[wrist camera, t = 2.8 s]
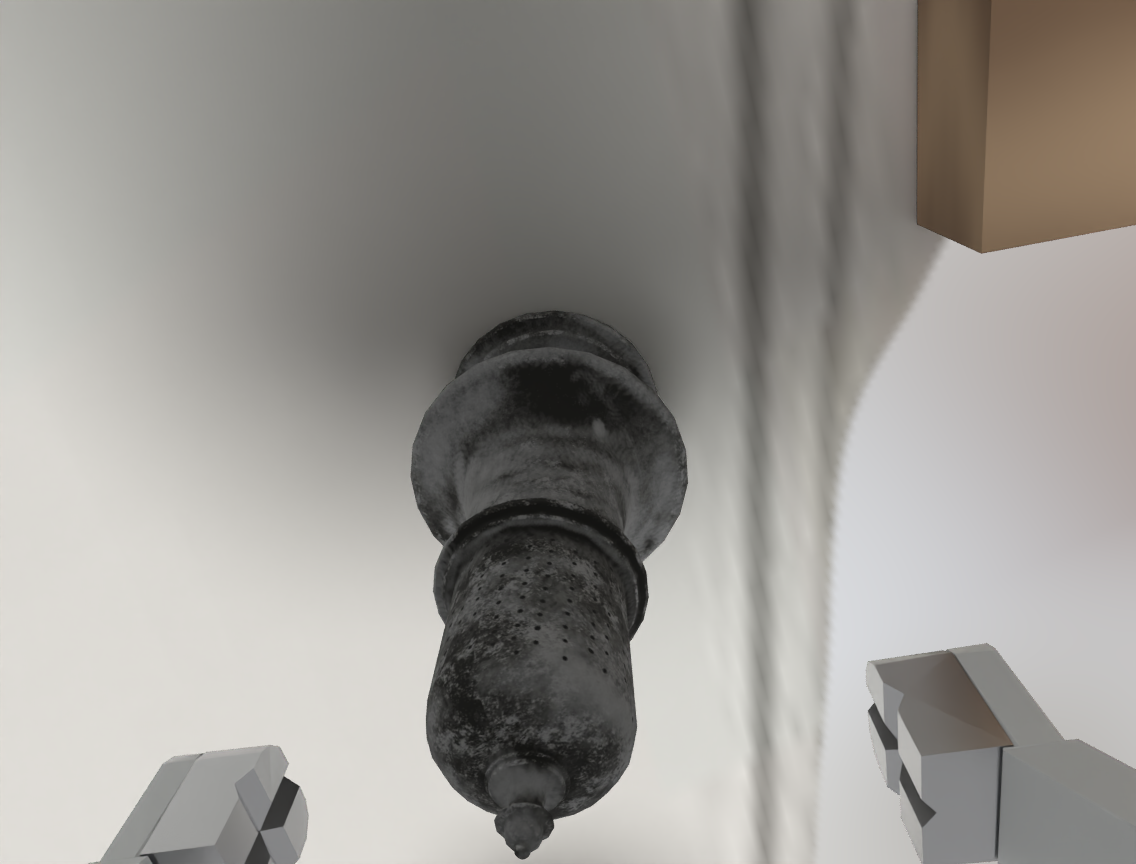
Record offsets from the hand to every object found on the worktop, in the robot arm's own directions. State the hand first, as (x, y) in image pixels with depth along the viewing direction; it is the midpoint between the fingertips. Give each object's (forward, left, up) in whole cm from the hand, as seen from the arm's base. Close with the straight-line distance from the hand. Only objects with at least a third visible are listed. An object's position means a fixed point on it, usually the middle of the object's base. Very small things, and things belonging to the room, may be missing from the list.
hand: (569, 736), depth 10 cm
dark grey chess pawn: (-1, 0, -10) cm, 10 cm away
